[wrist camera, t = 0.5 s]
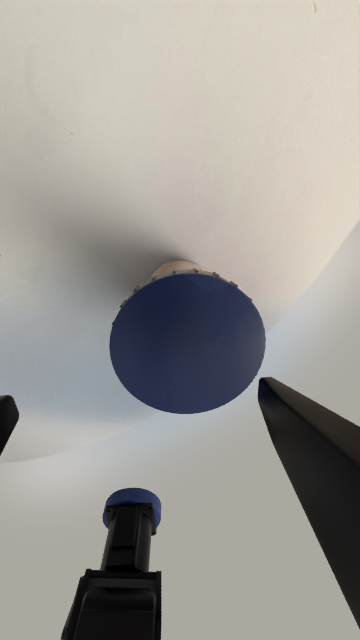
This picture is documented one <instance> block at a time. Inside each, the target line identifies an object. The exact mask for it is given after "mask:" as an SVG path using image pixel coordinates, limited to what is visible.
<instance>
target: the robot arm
mask: <svg viewBox="0 0 360 640" xmlns="http://www.w3.org/2000/svg"><path fill="white" fill-rule="evenodd" d="M258 401H259V405H260V408H261V411H262V413H263V417H264V420H265V422H266V425H267V428H268V431H269V434H270V437H271V440H272V442H273V445H274V447H275V449H276V451H277V454H278V455H279V458H280V460H281V462H282V464H283V466H284V469H285V470H286V473H287V475H288V477H289V479H290V481H291V483H292V486H293V488H294V490H295V492H296V494H297V496H298V498H299V500H300V503H301V505H302V507H303V509H304V511H305V513H306V515H307V517H308V520H309V522H310V524H311V526H312V528H313V531H314V533H315V535H316V537H317V539H318V541H319V543H320V545H321V548H322V549H323V552H324V554H325V556H326V558H327V560H328V563H329V565H330V567H331V569H332V571H333V573H334V575H335V578H336V580H337V582H338V584H339V586H340V588H341V590H342V593H343V595H344V597H345V599H346V601H347V603H348V605H349V607H350V610H351V611H352V614H353V616H354V618H355V620H356V622H357V625H358V627H359V629H360V427H359V426H357V425H355V424H354V423H352V422H350V421H348V420H346V419H344V418H343V417H341V416H339V415H337V414H336V413H334V412H332V411H331V410H329V409H327V408H325V407H324V406H322V405H320V404H318V403H316V402H315V401H313V400H311V399H309V398H308V397H306V396H304V395H302V394H301V393H299V392H297V391H295V390H293V389H292V388H290V387H288V386H286V385H285V384H283V383H281V382H279V381H278V380H276V379H274V378H272V377H265V378H260V380H259V388H258ZM18 419H19V412H18V409H17V406H16V404H15V401H14V399H13V397H12V396H10V395H4V396H0V455H1V453H2V451H3V449H4V447H5V445H6V443H7V441H8V439H9V437H10V435H11V433H12V431H13V429H14V427H15V425H16V423H17V421H18ZM105 514H106V519H107V523H108V527H109V531H108V535H107V540H106V545H105V549H104V554H103V559H102V563H101V568H100V570H91V569H86V572H85V575H84V576H83V577H81V578H80V580H79V584H78V588H77V591H76V595H75V598H74V602H73V604H72V607H71V610H70V613H69V615H68V618H67V621H66V624H65V626H64V629H63V632H62V636H61V640H161V571H157V572H149V558H150V543H151V536H152V535H155V534H156V522H155V514H154V506H153V503H150V502H149V503H134V504H119V505H107V506H106V508H105Z"/></svg>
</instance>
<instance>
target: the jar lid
mask: <svg viewBox="0 0 360 640" xmlns="http://www.w3.org/2000/svg"><path fill="white" fill-rule="evenodd" d="M237 287H238V286H237V285H236V284H235V283H233V282H232V281H230V282H228V281H227V280H225V279H224V278H222V277H220V276H219V275H218V274H217V273H215V272H213V273H210V272H207V271H202V270H197V269H196V268H194V267H193V269H180V270H175V268H174V269H173V271H169V272H165V273H162V274H160V275H157V276H156V275H153V277H152V278H151V279H149V280H148V281H146V282H145V283H143V284H142V285H141V286H139V285H138V286H137V287H136V288H135V289H134V292H133V293H132V294H131V296H130V297H129V298H128V300H125V301H124V302H123V303H122V304H121V306H120V307H121V309H120V311H119V313H118V315H117V316H116V318H115V320H114V322H113V323H112V325H113V326H112V330H111V335H110V346H109V347H110V357H111V361H112V365H113V367H114V370H115V372H116V374H117V376H118V378H119V380H120V381H121V383H122V384H123V385H124V387H125V388H126V389H127V390H128V391H129V392H130V393H131V394H132V395H133V396H134V397H136V398H137V399H138V400H140V401H141V402H143V403H145V404H146V405H149V406H151V407H153V408H155V409H158V410H161V411H165V412H170V413H177V414H193V413H201V412H205V411H209V410H212V409H215V408H218V407H220V406H222V405H225V404H226V403H228V402H230V401H231V400H233V399H234V398H236V397H237V396H238V395H240V394H241V393H242V392H243V391H244V390H245V389H246V388H247V387H248V385H249V384H250V383H251V382H252V381H253V379H254V378H255V376H256V375H257V373H258V371H259V369H260V367H261V364H262V361H263V358H264V353H265V341H266V338H265V329H264V326H263V322H262V319H261V316H260V314H259V312H258V310H257V309H256V307H255V306H254V304H253V303H252V300H251V299H250V298H249V297H248V296H246V295H245V294H244V293H243V292H242V291H241V290H239V289H238V288H237Z"/></svg>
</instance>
